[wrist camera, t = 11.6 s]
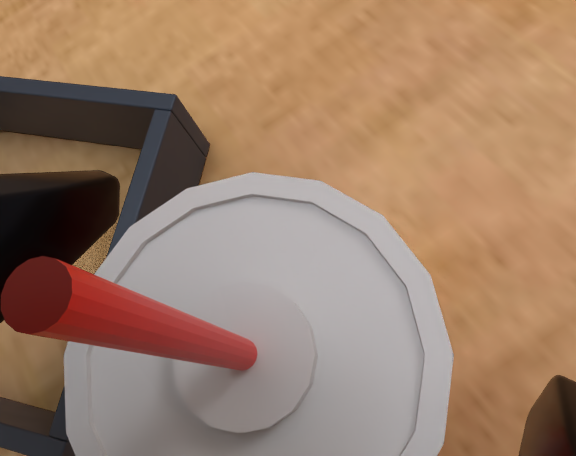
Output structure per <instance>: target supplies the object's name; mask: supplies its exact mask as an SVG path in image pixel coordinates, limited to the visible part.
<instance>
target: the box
mask: <svg viewBox="0 0 576 456" xmlns="http://www.w3.org/2000/svg"><path fill="white" fill-rule="evenodd" d="M0 130H3V131H11V132H18V133H26V134H33V135H41V136H48V137H56V138H63V139H71V140H78V141H86V142H93V143H101V144H108V145H116V146H123V147H131V148H138V149H142V150H141V153H140V156H139V159H138V162H137V165H136V168H135V171H134V174H133V177H132V181H131V184H130V187H129V190H128V193H127V196H126V199H125V202H124V205H123V208H122V211H121V214H120V217H119V220H118V223H117V226H116V229H115V233H114V236H113V239H112V242H111V245H110V248H109V251H108V254H107V256H108V255H109V254H110V252H111V251H112V250H113V248H114V247H115V246H116V244H117V243H118V242H119V240H120V239H121V238H122V236H123V235H124V234H125V232H126V231H127V230H128V228H129V227H130V226H132V225H133V224H135V223H136V222H138V221H139V220H141V219H142V218H144V217H145V216H147V215H148V214H150V213H151V212H153V211H154V210H156V209H157V208H159V207H160V206H162V205H163V204H165V203H166V202H168V201H169V200H170V199H172V198H173V197H175V196H176V195H178V194H179V193H181V192H182V191H184V190H185V189H187V188H191V187H195V186H198V184H199V181H200V177H201V174H202V171H203V167H204V164H205V160H206V158H205V157H207V153H208V150H209V146H210V144H209V142H208V141H207V139H206V138H205V136H204V135H203V133H202V132H201V131H200V129H199V128H198V126H197V125H196V123H195V122H194V120H193V119H192V117H191V116H190V114H189V113H188V112H187V110H186V109H185V107H184V106H183V104H182V103H181V101H180V100H179V98H178V97H177V95H175V94H166V93H156V92H147V91H137V90H127V89H118V88H108V87H98V86H89V85H79V84H70V83H60V82H50V81H41V80H31V79H21V78H12V77H2V76H0ZM106 258H107V257H106ZM0 447H1V448H4V449H7V450H11V451H14V452H17V453H21V454H24V455H27V456H76V455H75V453H74V451H73V448H72V446H71V444H70V441H69V439H68V436H67V434H66V414H65V385H64V388H63V391H62V395H61V398H60V401H59V404H58V407H57V410H56V412H52V411H48V410H45V409H41V408H38V407H34V406H30V405H27V404H23V403H20V402H16V401H12V400H9V399H5V398H2V397H0Z"/></svg>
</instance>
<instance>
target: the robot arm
mask: <svg viewBox="0 0 576 456" xmlns="http://www.w3.org/2000/svg"><path fill="white" fill-rule="evenodd" d="M119 197H120V183H119V181H118V179H117V178H116V177H115V176H112V175H110V174H108V173H106V172H103V171H100V170H93V171H68V172H44V173H19V174H0V323H1V322H2V321H4V320H5V319H4V317H3V314H2V312H1V293H2V291H3V288H4V285H5V283H6V280H7V279H8V278H9V276H10V275H11V274H12V272H13V271H14V270H15V269H16V268H17V267H18V266H20V265H21V264H23V263H24V262H26V261H27V260H29V259H32V258H37V257H41V256H45V257H50V258H56V259H58V260H60V261H63V262H65V263H68V264H70V265H72V264H73V263H74V262H75V261H76V260H77V259H79V258H80V257H81V256H82V255H83V254H84V253H85V252H86V251H87V250H88V249H89V248H90V247H91V246H92V245H93V244H94V243H95V242H96V241H97V240H98V239H99V238H100V237H101V236H102V235H103V234H104V233H105V232H106V231H107V230H108V229H109V228H110V227H111V226H112V225H113V224H114V223H115V222H116V220H117V218H118V215H119ZM519 456H576V382H575V381H573V380H570V379H568V378H566V377H564V376H561V375H556V376H554V377H553V378H552V379H551V380H550V381H549V383H548V384H547V386H546V387H545V389H544V390H543V392H542V393H541V395H540V396H539V398H538V399H537V401H536V402H535V404H534V405H533V407H532V408H531V410H530V412H529V414H528V417H527V420H526V424H525V429H524V433H523V438H522V442H521V447H520V451H519Z"/></svg>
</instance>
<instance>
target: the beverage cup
mask: <svg viewBox="0 0 576 456" xmlns="http://www.w3.org/2000/svg"><path fill="white" fill-rule="evenodd" d="M1 312H2V314H3V317H4V319H5V322H6V323H7V324H8V325H9V326H10V327H11V328H13V329H14V330H15V331H16V332H21V333H25V334H30V335H36V336H42V337H47V338H53V339H59V340H65V341H68V344H67V347H66V350H65V353H64V381H65V414H66V434H67V436H68V439H69V441H70V444H71V446H72V448H73V451H74V453H75V455H76V456H437V454H438V453H439V451H440V449H441V447H442V446H443V444H444V437H445V428H446V419H447V410H448V402H449V393H450V384H451V375H452V366H453V357H454V354H453V351H452V347H451V344H450V341H449V337H448V334H447V330H446V327H445V323H444V320H443V316H442V313H441V309H440V306H439V303H438V299H437V296H436V292H435V289H434V285H433V282H432V278H431V275H430V274H429V273H428V271H427V270H426V269H425V268H424V266H423V265H422V264H421V263H420V261H419V260H418V259H417V258H416V256H415V255H414V254H413V253H412V251H411V250H410V249H409V248H408V246H407V245H406V244H405V243H404V241H403V240H402V239H401V238H400V236H399V235H398V234H397V233H396V231H395V230H394V229H393V228H392V226H391V225H390V224H389V223H388V221H387V220H386V219H385V217H384V216H383V215H381V214H379V213H378V212H376V211H374V210H372V209H370V208H369V207H367V206H365V205H363V204H361V203H360V202H358V201H356V200H354V199H352V198H351V197H349V196H347V195H345V194H343V193H342V192H340V191H338V190H336V189H334V188H333V187H331V186H329V185H327V184H325V183H324V182H322V181H318V180H310V179H302V178H294V177H287V176H279V175H271V174H263V173H255V172H252V173H247V174H243V175H239V176H235V177H231V178H227V179H223V180H219V181H215V182H211V183H207V184H203V185H199V186H195V187H191V188H187V189H185V190H184V191H182V192H181V193H179V194H178V195H176V196H175V197H173V198H172V199H170V200H169V201H168V202H166V203H165V204H163V205H162V206H160V207H159V208H157V209H156V210H154V211H153V212H151V213H150V214H148V215H147V216H145V217H144V218H142V219H141V220H139V221H138V222H136V223H135V224H133V225H132V226H130V227H129V228H128V230H127V231H126V232H125V234H124V235H123V236H122V238H121V239H120V240H119V242H118V243H117V244H116V246H115V247H114V248H113V250H112V251H111V252H110V254H109V255H108V256H107V258H106V259H105V260H104V262H103V263H102V264H101V266H100V267H99V268H98V270H97V271H96V272H95V274H91V273H89V272H87V271H84V270H82V269H80V268H77V267H75V266H72V265H70V264H68V263H65V262H63V261H60V260H58V259H56V258H50V257H45V256H41V257H37V258H32V259H29V260H27V261H26V262H24V263H23V264H21V265H20V266H18V267H17V268H16V269H15V270H14V271H13V272H12V274H11V275H10V276H9V278H8V279H7V280H6V283H5V285H4V288H3V291H2V293H1Z"/></svg>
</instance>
